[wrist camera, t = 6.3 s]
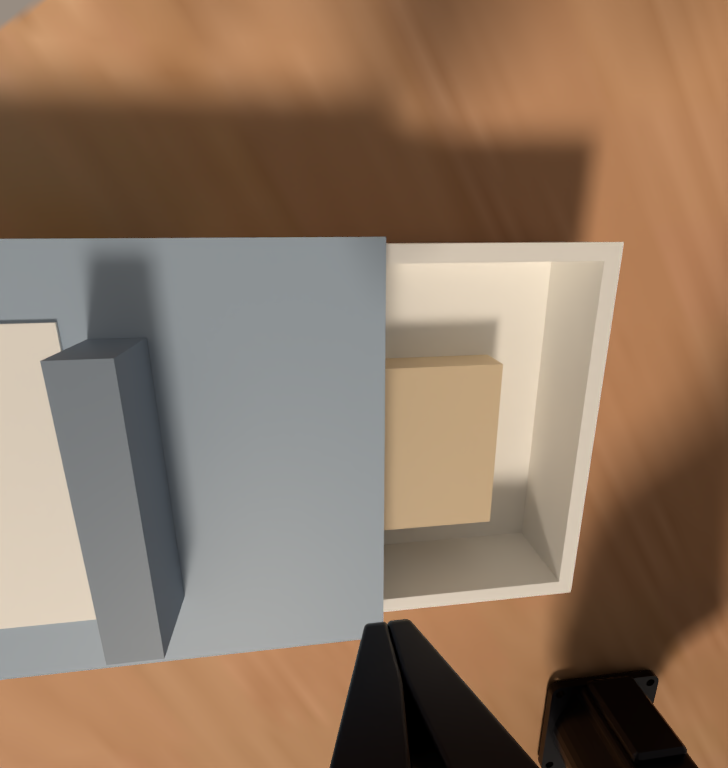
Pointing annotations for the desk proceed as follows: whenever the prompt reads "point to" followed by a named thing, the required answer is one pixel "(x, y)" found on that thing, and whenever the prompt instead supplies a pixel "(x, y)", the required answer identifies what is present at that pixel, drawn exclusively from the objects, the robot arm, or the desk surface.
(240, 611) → the lid
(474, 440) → the box
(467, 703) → the robot arm
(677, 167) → the desk surface
